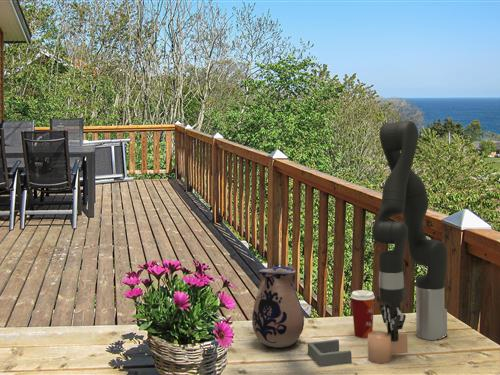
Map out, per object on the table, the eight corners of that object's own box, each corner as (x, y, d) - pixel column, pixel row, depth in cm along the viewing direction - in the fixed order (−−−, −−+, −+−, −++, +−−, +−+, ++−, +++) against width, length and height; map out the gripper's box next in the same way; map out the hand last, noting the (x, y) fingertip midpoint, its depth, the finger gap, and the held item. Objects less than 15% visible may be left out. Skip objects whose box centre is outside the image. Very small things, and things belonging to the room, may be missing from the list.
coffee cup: (375, 339, 199) (375, 296, 198) (351, 338, 201) (350, 295, 200) (375, 331, 208) (374, 289, 206) (351, 330, 209) (350, 289, 208)
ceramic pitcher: (244, 349, 194) (242, 275, 192) (267, 329, 214) (265, 261, 212) (295, 355, 188) (293, 278, 186) (314, 334, 207) (312, 263, 205)
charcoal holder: (337, 349, 191) (337, 339, 191) (351, 362, 180) (351, 351, 180) (307, 353, 189) (307, 342, 189) (320, 366, 178) (319, 355, 178)
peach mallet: (401, 352, 188) (400, 328, 187) (411, 360, 181) (411, 335, 180) (364, 357, 185) (364, 332, 184) (374, 365, 178) (373, 339, 177)
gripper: (413, 289, 175) (415, 346, 177) (392, 278, 188) (394, 331, 190) (390, 292, 173) (391, 349, 175) (370, 281, 187) (372, 334, 189)
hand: (392, 339), depth 183 cm, fingers closed on peach mallet
